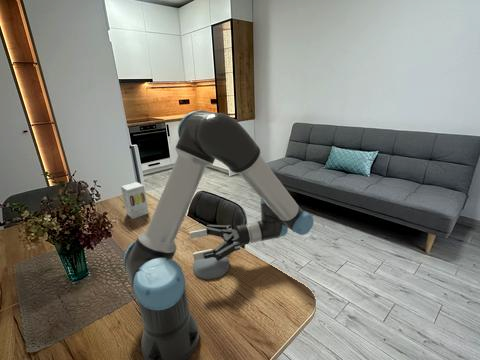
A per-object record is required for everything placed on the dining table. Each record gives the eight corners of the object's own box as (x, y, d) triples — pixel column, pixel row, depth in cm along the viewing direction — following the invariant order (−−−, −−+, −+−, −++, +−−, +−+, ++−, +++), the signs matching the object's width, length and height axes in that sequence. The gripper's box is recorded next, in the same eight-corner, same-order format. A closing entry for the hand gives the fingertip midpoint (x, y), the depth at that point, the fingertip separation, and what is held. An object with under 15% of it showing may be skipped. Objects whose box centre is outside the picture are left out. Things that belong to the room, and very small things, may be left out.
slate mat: (236, 269, 96) (235, 267, 95) (201, 285, 89) (201, 282, 89) (219, 250, 107) (219, 248, 107) (187, 263, 101) (187, 260, 100)
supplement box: (132, 219, 137) (126, 190, 131) (126, 213, 143) (119, 186, 137) (149, 213, 143) (144, 185, 137) (142, 208, 149) (137, 181, 143)
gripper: (258, 262, 88) (196, 276, 83) (239, 226, 110) (190, 236, 105) (258, 243, 85) (194, 257, 80) (238, 210, 108) (187, 220, 103)
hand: (191, 245), depth 93 cm, fingers open, 13 cm apart
